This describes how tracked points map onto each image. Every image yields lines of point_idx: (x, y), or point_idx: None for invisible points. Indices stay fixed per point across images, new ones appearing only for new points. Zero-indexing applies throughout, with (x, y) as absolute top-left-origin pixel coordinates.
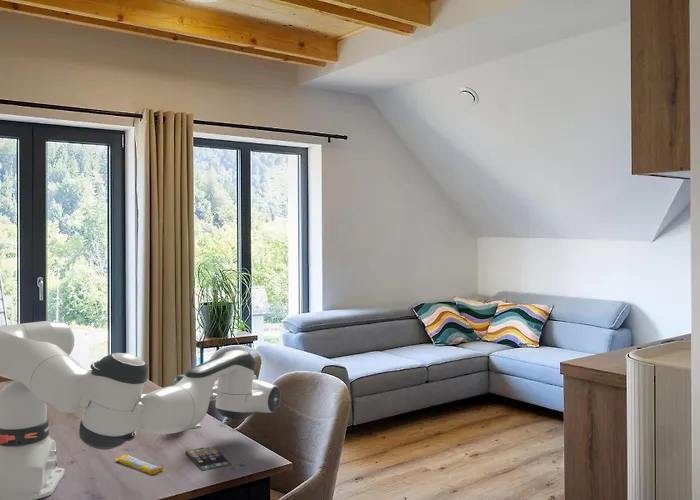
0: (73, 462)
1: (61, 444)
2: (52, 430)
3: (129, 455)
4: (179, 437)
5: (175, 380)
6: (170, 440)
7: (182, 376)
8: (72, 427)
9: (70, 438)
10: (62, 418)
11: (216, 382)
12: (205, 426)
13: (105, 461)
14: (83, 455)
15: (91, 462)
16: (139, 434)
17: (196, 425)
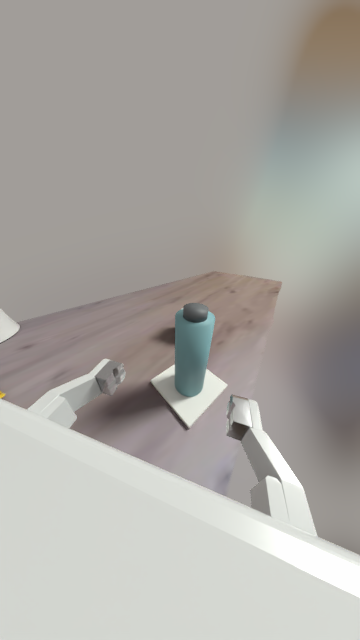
0: (23, 348)
1: (98, 319)
2: (138, 303)
3: (1, 398)
4: (117, 422)
5: (180, 311)
6: (97, 415)
7: (189, 310)
8: (147, 308)
9: (116, 317)
10: (167, 298)
11: (35, 544)
12: (199, 436)
13: (3, 376)
14: (50, 345)
15: (10, 364)
16: (132, 356)
17: (185, 417)
